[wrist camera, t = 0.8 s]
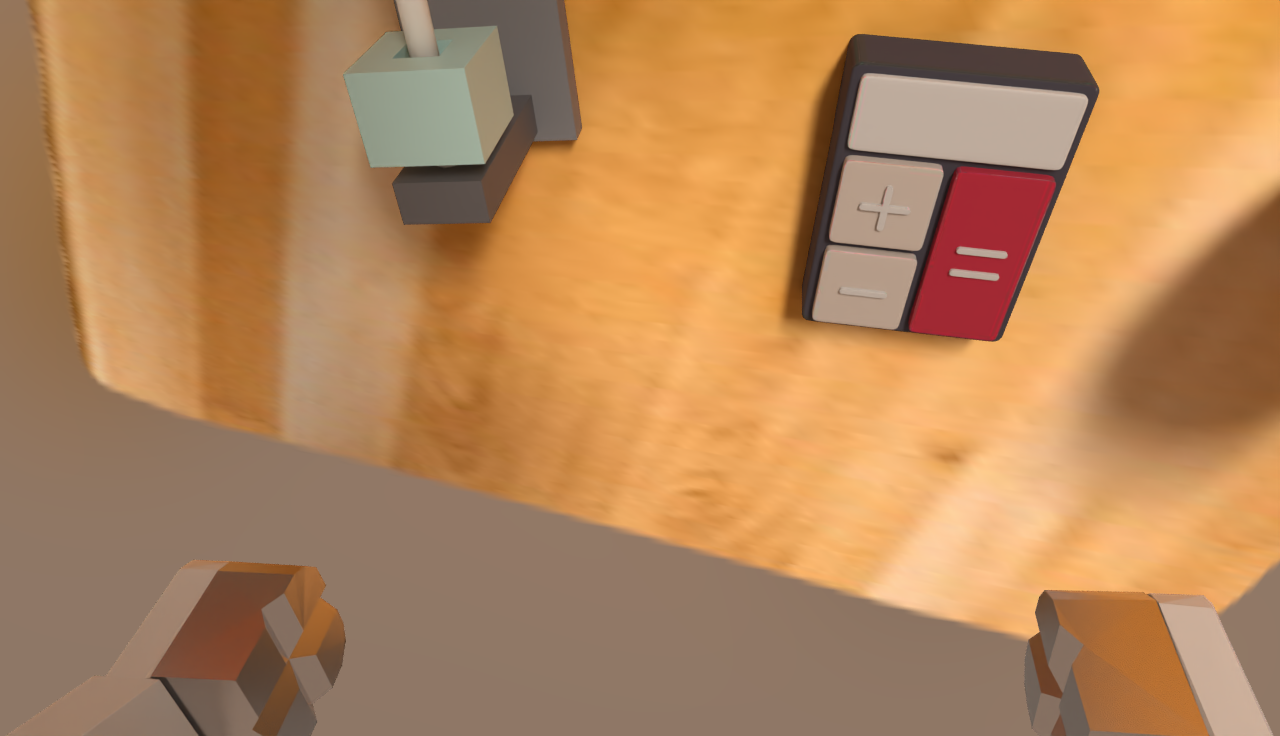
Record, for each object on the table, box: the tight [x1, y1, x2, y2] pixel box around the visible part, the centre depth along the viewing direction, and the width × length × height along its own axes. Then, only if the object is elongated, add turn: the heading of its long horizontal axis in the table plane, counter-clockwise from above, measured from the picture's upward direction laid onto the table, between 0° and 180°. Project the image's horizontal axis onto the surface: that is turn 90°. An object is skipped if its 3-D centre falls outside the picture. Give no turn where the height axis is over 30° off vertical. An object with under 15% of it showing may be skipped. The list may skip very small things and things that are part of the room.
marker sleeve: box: [343, 26, 514, 168], centre depth 39 cm, size 4×5×5 cm
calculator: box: [802, 34, 1099, 342], centre depth 47 cm, size 11×4×15 cm
